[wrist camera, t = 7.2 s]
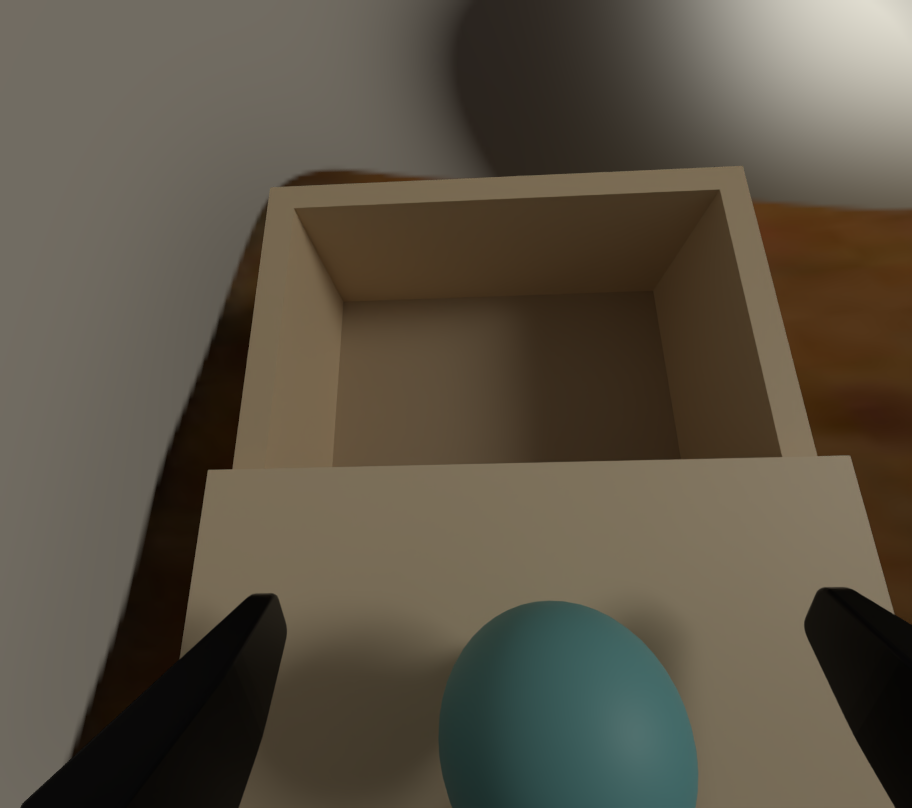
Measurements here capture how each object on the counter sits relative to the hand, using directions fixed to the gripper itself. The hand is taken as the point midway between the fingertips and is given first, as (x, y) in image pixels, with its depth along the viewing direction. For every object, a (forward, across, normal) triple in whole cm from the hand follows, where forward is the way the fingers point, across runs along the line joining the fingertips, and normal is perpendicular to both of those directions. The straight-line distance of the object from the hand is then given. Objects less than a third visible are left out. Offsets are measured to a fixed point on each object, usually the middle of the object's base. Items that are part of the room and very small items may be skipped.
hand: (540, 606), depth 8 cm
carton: (+10, 0, +2) cm, 10 cm away
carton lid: (-1, 0, +4) cm, 4 cm away
